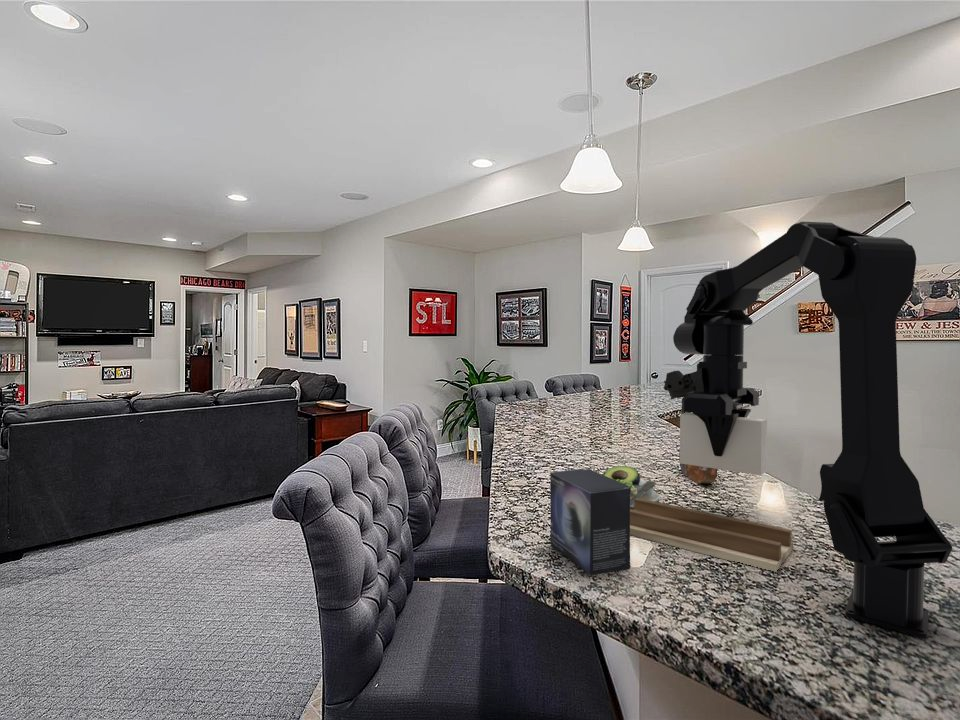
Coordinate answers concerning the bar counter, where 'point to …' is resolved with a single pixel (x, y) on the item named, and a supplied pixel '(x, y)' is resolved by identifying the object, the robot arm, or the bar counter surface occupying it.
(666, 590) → the bar counter surface
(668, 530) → the floor track
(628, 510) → the small box
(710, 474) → the tin
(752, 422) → the door panel
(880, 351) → the robot arm
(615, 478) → the salad plate
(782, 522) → the bar counter surface
